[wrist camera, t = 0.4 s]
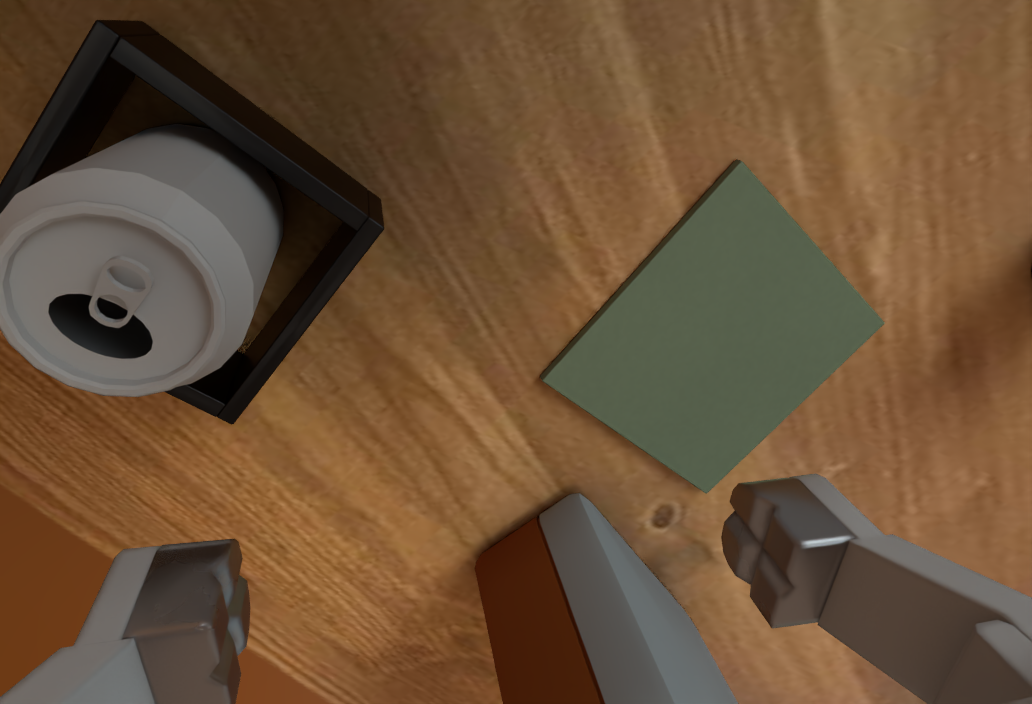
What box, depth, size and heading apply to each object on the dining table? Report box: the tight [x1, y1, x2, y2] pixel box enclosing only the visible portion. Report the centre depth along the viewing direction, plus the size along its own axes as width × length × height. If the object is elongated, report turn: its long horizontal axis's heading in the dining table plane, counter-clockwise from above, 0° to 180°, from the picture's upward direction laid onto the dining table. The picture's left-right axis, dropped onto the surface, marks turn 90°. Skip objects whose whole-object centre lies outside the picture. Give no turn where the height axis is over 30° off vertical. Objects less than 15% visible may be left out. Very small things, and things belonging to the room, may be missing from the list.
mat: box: [540, 159, 884, 493], centre depth 38 cm, size 16×16×1 cm
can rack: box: [0, 20, 384, 424], centre depth 27 cm, size 12×12×5 cm
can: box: [0, 124, 284, 397], centre depth 23 cm, size 8×8×12 cm
